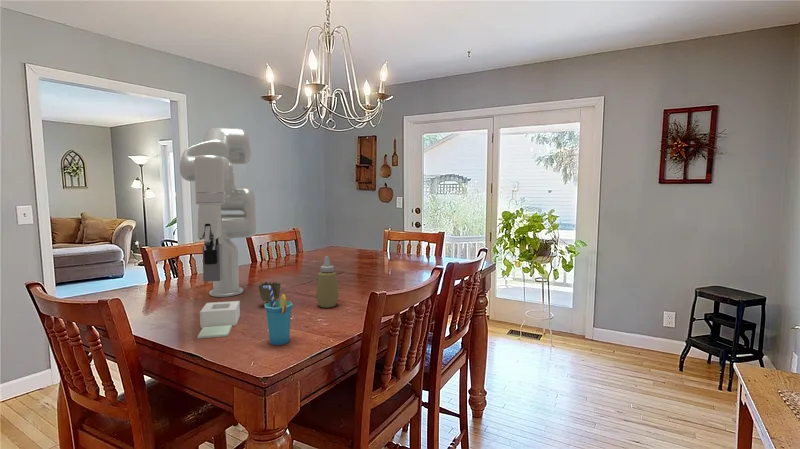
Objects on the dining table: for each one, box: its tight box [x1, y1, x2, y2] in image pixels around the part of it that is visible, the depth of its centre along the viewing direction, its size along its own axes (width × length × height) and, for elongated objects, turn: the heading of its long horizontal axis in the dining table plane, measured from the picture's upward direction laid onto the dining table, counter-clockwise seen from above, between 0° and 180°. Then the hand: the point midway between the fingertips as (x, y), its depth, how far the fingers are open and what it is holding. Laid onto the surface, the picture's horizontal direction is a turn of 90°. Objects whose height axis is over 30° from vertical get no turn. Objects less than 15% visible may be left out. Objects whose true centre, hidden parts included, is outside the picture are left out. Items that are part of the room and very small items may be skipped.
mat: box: [197, 325, 233, 339], centre depth 122 cm, size 8×8×1 cm
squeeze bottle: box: [315, 255, 340, 309], centre depth 148 cm, size 8×8×18 cm
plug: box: [202, 244, 223, 282], centre depth 120 cm, size 4×4×10 cm
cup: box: [263, 285, 293, 346], centre depth 115 cm, size 14×8×15 cm, turn 46°
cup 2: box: [258, 281, 281, 304], centre depth 149 cm, size 8×7×8 cm
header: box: [199, 300, 241, 329], centre depth 131 cm, size 10×10×5 cm
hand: (212, 261), depth 120 cm, fingers closed on plug, 4 cm apart
